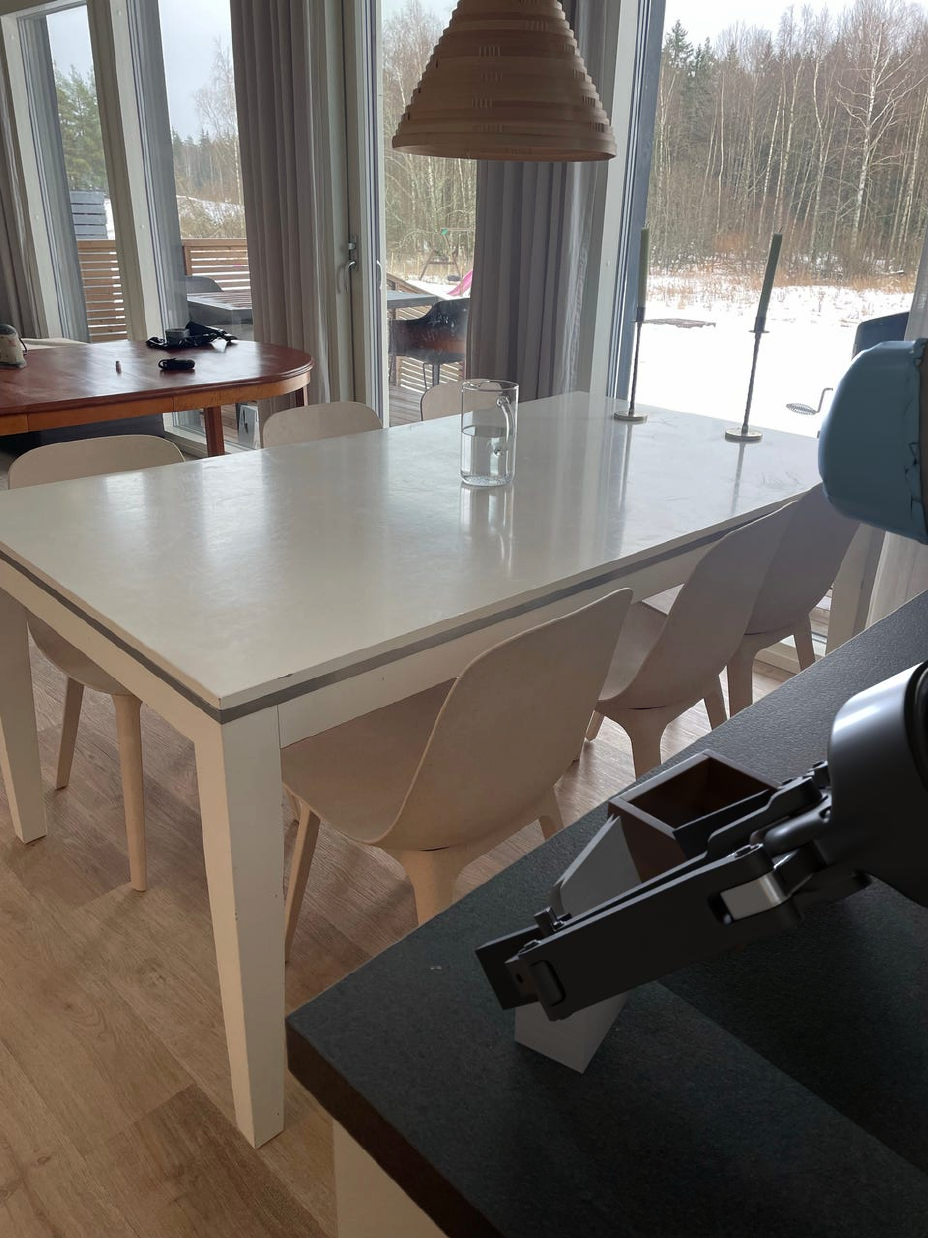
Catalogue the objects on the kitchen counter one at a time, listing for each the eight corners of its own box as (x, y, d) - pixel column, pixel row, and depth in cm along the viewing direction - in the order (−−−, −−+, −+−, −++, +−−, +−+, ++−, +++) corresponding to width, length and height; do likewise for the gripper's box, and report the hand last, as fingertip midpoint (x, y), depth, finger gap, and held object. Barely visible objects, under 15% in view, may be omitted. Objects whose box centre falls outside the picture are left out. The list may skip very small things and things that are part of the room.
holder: (697, 829, 62) (707, 748, 60) (829, 902, 56) (846, 814, 53) (600, 888, 57) (608, 801, 54) (734, 978, 50) (749, 882, 48)
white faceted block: (636, 984, 49) (652, 826, 46) (582, 1073, 44) (595, 903, 40) (573, 957, 51) (584, 803, 47) (514, 1040, 46) (520, 874, 42)
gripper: (875, 1120, 19) (430, 1138, 36) (1206, 742, 35) (787, 875, 51) (694, 795, 21) (348, 953, 37) (1084, 570, 36) (717, 752, 52)
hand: (600, 909), depth 44 cm, fingers open, 13 cm apart
